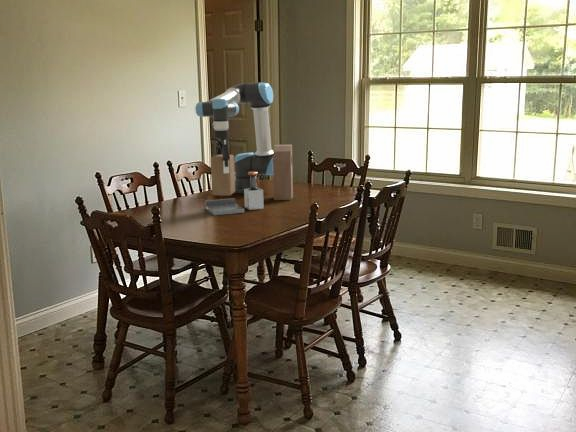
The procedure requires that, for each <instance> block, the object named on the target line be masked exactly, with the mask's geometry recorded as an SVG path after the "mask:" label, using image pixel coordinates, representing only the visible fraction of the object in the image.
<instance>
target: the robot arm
mask: <svg viewBox="0 0 576 432" xmlns="http://www.w3.org/2000/svg"><path fill="white" fill-rule="evenodd" d="M273 102H274V90H273V88H272V86H271V85H270V83H267V82H243V83H239V84H236V85H234V86H231V87H229V88H227V89H226V90H225V92H223V93H222V94H219V95H217V96H215V97H213V98H211V99H209V100H207V101H201V102H197V103H196V104H195V107H194V108H195V109H194V110H195V114H196V115H197V117H203V118H205V117H206V118H207V117H208V118H209V117H210V118H211V117H212V119H213V123H212V126H213V129H214V130H213V137H214V138H215V149H214V150H215V151H214V152H215V153H214V156H215V155H223V159H222V161H223V172H224V173H229V159H230V156H229V155H230V151H229V143H228V139H226V138H229V137H230V135H229V134H230V133H229V129H230V127H229V117H236V116H237V115H238V114H239V111H240V106H239V105H238V104H244V105H245V104H246V105H247V104H248V105H249V108H250V109H252V111H253V122H254V130H255V131H254V132H255V133H254V134H255V145H256V151H255V152H253V151H252V152H244V153H238V154H236V155H235V156H234V173H235V192H234V193H233V194H244V189H246V188H251V183H250V175H249V174H248V172H258V174H257V175H256V176H258V175H259V176H273V150H274V149H273V148H272V137H271V128H270V127H271V126H270V114H269V108H270V107H271V104H272V103H273ZM258 187H259V186H258V184H257V183H256V188H258Z"/></svg>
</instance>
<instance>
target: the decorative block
mask: <svg viewBox="0 0 576 432" xmlns="http://www.w3.org/2000/svg"><path fill="white" fill-rule="evenodd" d="M272 150H273V175H272V176H273V177H272V178H273V200H274V201H292V200H293V197H294V183H293V182H294V181H293V179H294V178H293V173H294V172H293V144H274V145H273V149H272Z"/></svg>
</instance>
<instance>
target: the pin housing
mask: <svg viewBox="0 0 576 432" xmlns="http://www.w3.org/2000/svg"><path fill="white" fill-rule="evenodd" d="M243 195H244V196H243V198H244V209H247V210H248V211H253V210H263V209H264V208H265V205H264V203H265V202H264V200H265V199H264V189H263V188H261V187H259V186H258V188H256V190H251V188H246V189H244V193H243Z"/></svg>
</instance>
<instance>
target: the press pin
mask: <svg viewBox="0 0 576 432" xmlns="http://www.w3.org/2000/svg"><path fill="white" fill-rule="evenodd" d="M248 174H249V175H250V183H251V190H256V184H257V176H258V175H257V174H258V172H248Z"/></svg>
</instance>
